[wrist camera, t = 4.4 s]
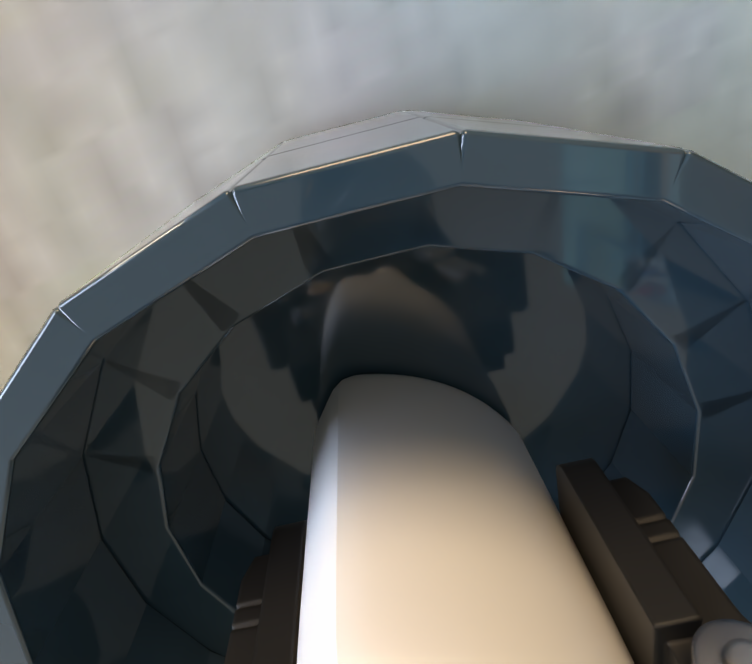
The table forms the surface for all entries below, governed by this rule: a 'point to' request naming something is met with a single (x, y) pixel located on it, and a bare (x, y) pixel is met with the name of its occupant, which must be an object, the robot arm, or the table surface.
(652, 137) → the table surface
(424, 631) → the eye dropper bottle
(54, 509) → the bowl
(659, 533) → the robot arm
